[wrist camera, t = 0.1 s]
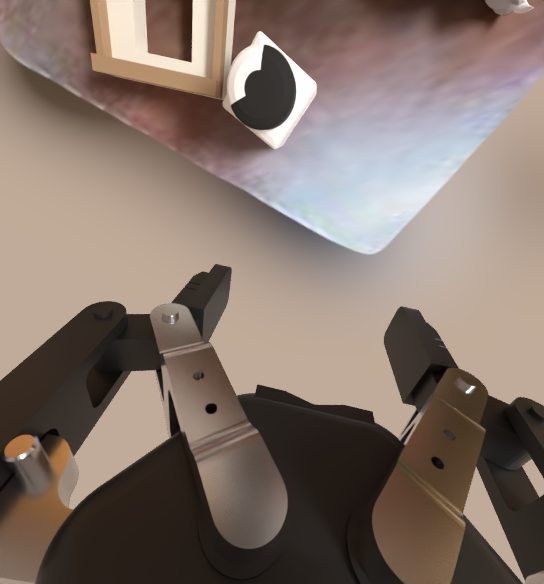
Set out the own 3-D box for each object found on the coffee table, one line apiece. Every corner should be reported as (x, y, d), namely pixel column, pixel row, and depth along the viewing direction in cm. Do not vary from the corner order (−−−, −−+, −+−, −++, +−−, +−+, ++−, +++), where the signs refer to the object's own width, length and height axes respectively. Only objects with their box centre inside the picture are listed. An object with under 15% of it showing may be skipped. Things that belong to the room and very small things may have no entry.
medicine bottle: (317, 92, 32) (318, 75, 22) (281, 147, 36) (268, 154, 25) (269, 48, 31) (246, 7, 20) (237, 109, 34) (203, 101, 24)
